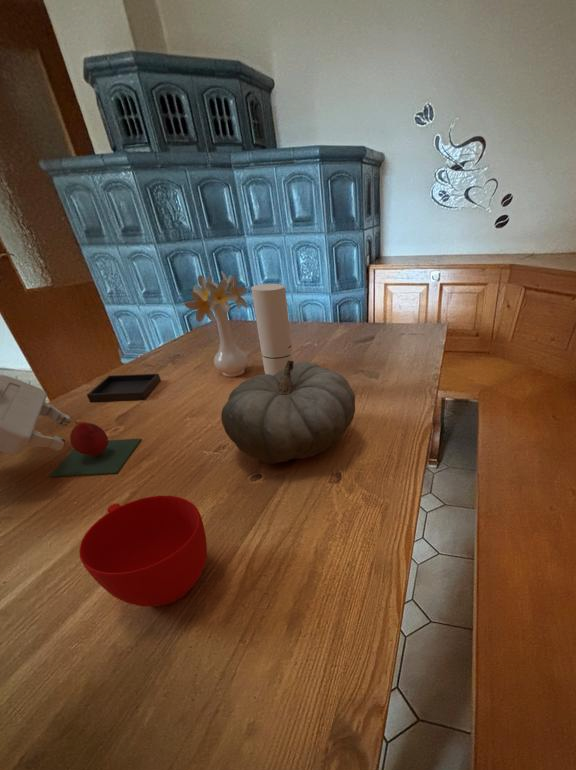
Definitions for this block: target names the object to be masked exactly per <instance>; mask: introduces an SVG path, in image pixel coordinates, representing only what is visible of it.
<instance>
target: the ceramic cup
mask: <svg viewBox="0 0 576 770" xmlns="http://www.w3.org/2000/svg"><path fill="white" fill-rule="evenodd" d="M206 535H207V534H206V530H205V526H204V521H203V518H202V515H201V514H200V510H199V509H198V507H197V506H196V505H195V504H194V503H193V502H192V501H189V500H188V499H186V498H183V497H180V496H177V495H176V496H174V495H154V496H148V497H143V498H139V499H135V500H132V501H130V502H126V503H125V504H122V505H121V504H120V503H118V502H117V503H112V504H110V505H109V506H108V507H107V513H106V514H105V515H103V516H102V517H100V518H99V519H98V520H97V521H96V522H95V523H94V524H92V525H91V526H90V528H89V529H88V530H87V531H86V532H85V534H84V536H83V537H82V540H81V541H80V546H79V549H78V552H79V559H80V561H81V563H82V565H83V567H84V568H85V570H86V571H87V572H88V574H89V575H90V577H92V578H93V580H94V581H95V582H96V583H97V584H98V585H99V586H100V587H102V588H103V589H104V590H105V591H106V592H107V593H108V594H110V595H111V596H113V597H114V598H116V599H118V600H119V601H122V602H124V603H126V604H130V605H134V606H137V607H138V606H139V607H158V606H166V605H170V604H172V603H175V602H176V601H179V600H180V599H182V598H183V597H185V596H186V595H187V594H188V593H189V592H190V591H191V589H193V587H194V586H195V584H196V583H197V582H198V580H199V578H200V577H201V575H202V572H203V571H204V568H205V565H206V560H207V553H208V544H207V536H206Z"/></svg>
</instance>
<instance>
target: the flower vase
mask: <svg viewBox="0 0 576 770" xmlns="http://www.w3.org/2000/svg"><path fill="white" fill-rule="evenodd" d="M220 274H221V277H222V279H220V281H219V283H216V282H213V275H212V274H210V275H209V276H208V277H207V278H206V277H204V276H203V275H202V274H199V275H198V277H197V281H198V282H197V283H198V285H194V286H193V288H192V291H191V297H192V299H193V300H194V301H192V300H191V301H185V302H184V306H185V307H186V308H187V309H189V310H191V311H192V310H193V311H196V312H195V320H196V321H197V322H198V323H202V322H203V321H204V320H205V317H207V318H208V320H210V321H211V322H213V323H215V322H216V325H217V330H218V335H219V336H218V337H219V347H218V351H217V352H216V353H215V355H214V357H213V365H214V367H215V368H216V369H217V370H218V371H219V372H221V373H222V375H223V376H224V377H226V378H227V377H229V378H233V377H238V376H242V375H243V374H244V373H245V371H246V370H245V369H246V368H247V366H248V364H249V358H248V356H247V354H246V353H245V352H244V351H243V350H242V349H241V348H240V347H238V345H237V344H236V342H235V340H234V338H233V335H232V330H231V326H230V322H229V317H228V313H229V312H230V309H231V308H230V304H229V302H235V304H236V306H237V307H238V309H241V306H243V307H244V308H246V309H248V303H247V302H246V300H245V299H244V298H243V296H245V295H246V287H245V286H239V283H238V278H237V277H236V276H233V274H229V276H228V277H227V275H226V274H225V273H224V272H223V271H222V270H221V271H220ZM212 311H213V312H212Z"/></svg>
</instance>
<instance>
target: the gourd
mask: <svg viewBox="0 0 576 770" xmlns="http://www.w3.org/2000/svg"><path fill="white" fill-rule="evenodd" d="M294 361H295V360H293V361H290V360H289V361H287V364H286V367H285V369H283V370H281V371H280V372H279V373H277V374H276V375H273V376H272V375H269V374H265V373H263V374H259V375H254V376H252V377H250V378H248V379H246V380H244V381H242V382H241V383H240V384H239V385H237V386H236V387H235V388H234V389H233V390H232V391H231V392H230V393H229V396H228V399H227V402H225V404H224V406H223V407H222V409H221V414H220V415H221V416H220V420H221V424H222V426H223V429H224V431H225V433H226V435H227V436H228V438H229V439H230V440H231V441H232V442H233V444H235V446H236V448H237V449H238V450H239V451H240V452H242V453H243V454H244V455H246V456H248V457H249V458H252V459H254V460H255V459H256V460H258V461H260V462H263V463H265V464H279V463H286V462H288V461H290V460H296V459H297V460H298V459H307V458H311V457H313V456H316V455H319V454H321V453H322V452H324V451H325V450H328V449H330V448H331V447H333V446H334V445H335V444H337V443H338V442H339V440H340V439H342V436H343V435H344V434H345V432H346V431H347V429H348V427H349V426H350V425H351V424H352V421H354V420H353V419H354V416H355V413H356V396H355V395H356V394H355V392H354V390H353V388H352V387H351V385H350V383H349V382H348V380H347V379H346V378H345V377H344V376H343V375H341V374H340V373H338V372H336V371H332V370H331V369H329V368H327V367H325V366H321V365H320V364H318V363H312V362H308V361H307V362H306V361H303V362H296V363H295V362H294ZM293 363H294V364H293Z"/></svg>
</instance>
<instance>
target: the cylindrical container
mask: <svg viewBox="0 0 576 770" xmlns="http://www.w3.org/2000/svg"><path fill="white" fill-rule="evenodd" d="M250 290H251V291H250V292H251V297H252V302H253V309H254V314H255V321H256V327H257V333H258V334H257V335H258V340H259V343H260V344H259V347H260V351H261V358H262V364H263V370H264V374H269V375H272V376H273V375H276V374H277V373H279V372H280V371H281V370H283V369H285V367H286V364H287V361H289V360H290V361H294V354H293V344H292V335H291V328H290V319H289V311H288V301H287V300H288V299H287V292H286V285H284V284H281V283H261V284H256V285H253V286H251V287H250ZM293 364H295V362H294V363H293Z"/></svg>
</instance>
